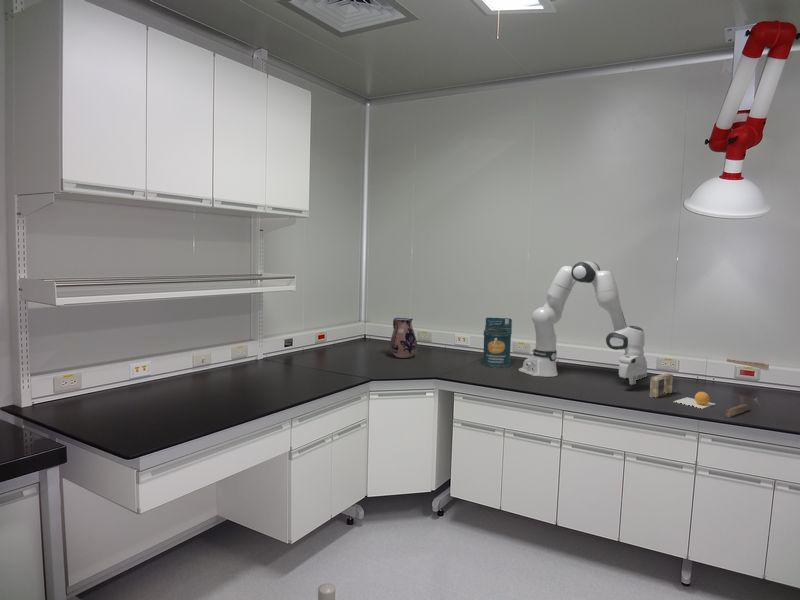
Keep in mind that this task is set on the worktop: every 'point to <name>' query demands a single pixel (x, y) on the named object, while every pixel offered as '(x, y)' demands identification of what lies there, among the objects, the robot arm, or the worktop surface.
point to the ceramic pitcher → (403, 338)
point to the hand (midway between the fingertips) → (632, 384)
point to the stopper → (736, 410)
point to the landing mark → (693, 403)
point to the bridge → (655, 383)
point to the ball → (702, 398)
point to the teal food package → (497, 342)
